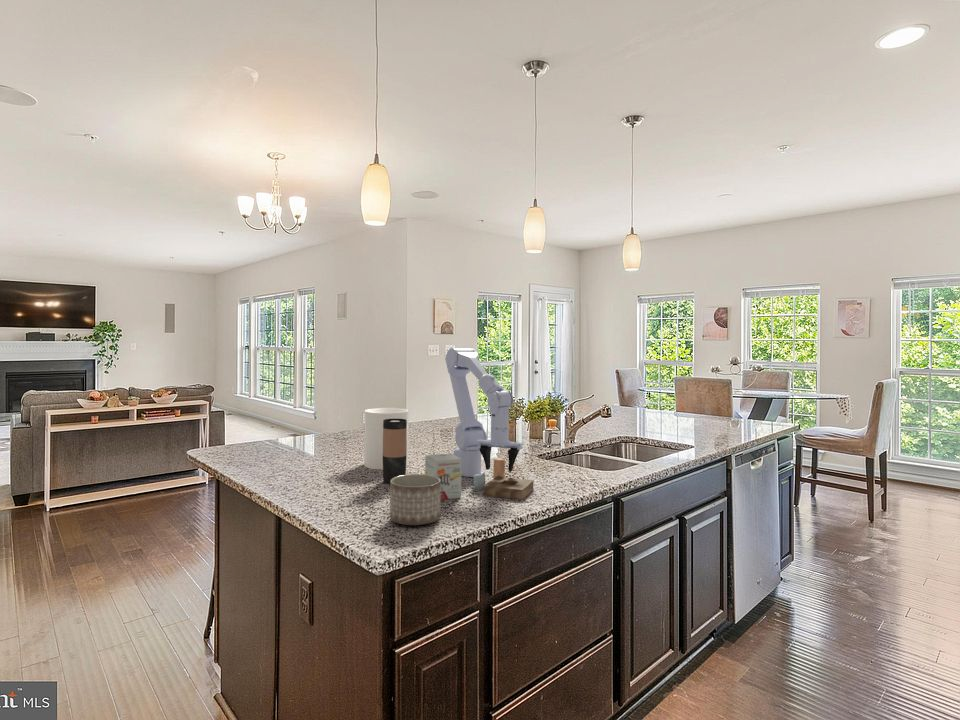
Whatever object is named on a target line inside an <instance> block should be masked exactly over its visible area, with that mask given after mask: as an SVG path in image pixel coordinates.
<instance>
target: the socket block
mask: <svg viewBox="0 0 960 720" xmlns="http://www.w3.org/2000/svg"><path fill="white" fill-rule="evenodd" d="M532 490H533V491H534V479H525V478H517V477H515V478H514V477H508V476H505V477H499V476H497V477H495V478H494V479H493V478H492V479H490V480H489V481H488V482H485V485H484V489H483V496H484V497H485V496H487V497H494V498H500V497H501V498H503V499H508V498H511V499H510V500H517V499H519V500H518V501H523V500H524V499H525V498H526V497H527V496H529V495H530V492H531V491H532ZM533 491H532V492H533ZM532 492H531V493H532Z"/></svg>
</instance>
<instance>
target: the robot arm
mask: <svg viewBox="0 0 960 720" xmlns="http://www.w3.org/2000/svg"><path fill="white" fill-rule="evenodd" d="M444 360H445V364H446V368H447V373H448V374H449V378H450V383H451V387H452V388H451V389H452V390H453V395H454V401H455V405H456V410H457V413H458V419H459V424H457V425H456V427H455V429H454V432H455V443H456V446H457V447H456V448H454V451H453V453H452V454H453V455H455V456H457V457H459V458H461V459H462V474H461V477H467V478H474V475H476V474H483V475H485V473H486V471H485V470H490V469H491V455H492V453H491V452H492V448H500V449H501V448H502V449H508V450H507V454H508V455H507V456H508V457H507V458H508V467H507V468H508V472H509V473H511V472H513V469H514V465H515V462H516V458H517V456H518V454H519V453H520V451H521V450H522V449H523V442H517V441H511V440H509V430H510V427H509V425H510V423H509V422H510V407H511V406H512V405H513V402H514V398H513V397H514V396H513V394H512V392H511V390H509V389H505V387H503V386H502V385H501V384H500V382H498V380H497V379H496V377H495V376H494V374H490V373H489V374H488V373H487V371H486V370H485V368H484V366H483V365H482V363H481V362H480V360H479V353H478V352H477V351H476V349H474V348H473V347H470V348H467V347H466V348H461V347H459V348H458V347H457V348H456V347H450V348H448V349H447V351H446V354H445V358H444ZM470 372H471V373H472V374H473V375H474V376H475V378H476V380H478V387H479V388H480V389H481V391H482V392H483V393H484V394H485V396H486V397H487V399H486V402H487V404H488V407H489V409H488V410H489V413H490V439H488V436H487V432H486V430H485V429H484V426H483V423H481V422H480V421H479V420H477V419H476V416H475V412H474V408H473V404H472V400H471V394H470V391H469V387H468V383H467V378H466V376H467V375H468V374H470ZM482 459H483V462H484V465H485V470H482Z"/></svg>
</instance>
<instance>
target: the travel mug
mask: <svg viewBox="0 0 960 720" xmlns="http://www.w3.org/2000/svg"><path fill="white" fill-rule="evenodd" d="M406 455H407V421H406V420H405V419H385V420H383V470H382V481H383V484H385V485H386V484H387V485H390V481H391V479H392V478H394V477H397V476H401V475H407V474H406V473H407V466H406Z"/></svg>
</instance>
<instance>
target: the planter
mask: <svg viewBox="0 0 960 720" xmlns="http://www.w3.org/2000/svg"><path fill="white" fill-rule="evenodd" d="M389 486H390V488H389V489H390V490H389V491H390V492H389V518H390V520H391V521H392V522H394V523H396V524H400V525H406V526H419V525H420V526H421V525H427V524H431V523H434V522H436V521H439V519H440V518H441V500H440V495H441V480H440V478H438V477H436V476H432V475H425V473H421V474H420V473H417V474H416V473H412V474H411V473H410V474H406V475H401V476H397V477H394V478H392V479H391V481H390V484H389Z"/></svg>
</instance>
